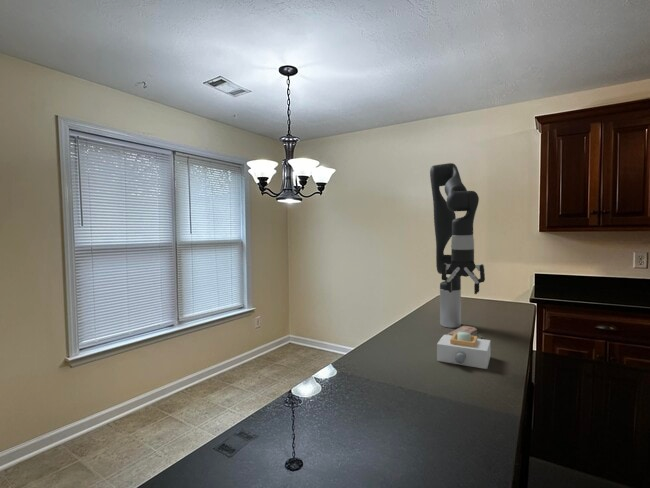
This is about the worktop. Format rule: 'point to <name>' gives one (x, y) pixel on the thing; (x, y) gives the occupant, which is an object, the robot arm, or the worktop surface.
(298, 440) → the worktop surface
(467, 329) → the packaged product
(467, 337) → the pale green rounded piece
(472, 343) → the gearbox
